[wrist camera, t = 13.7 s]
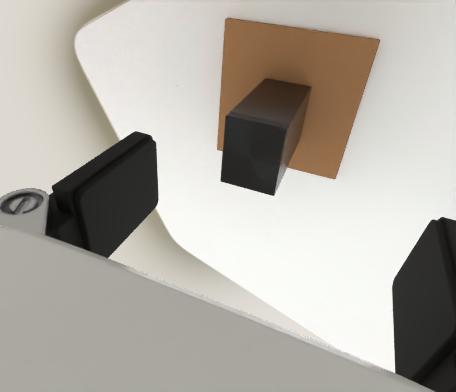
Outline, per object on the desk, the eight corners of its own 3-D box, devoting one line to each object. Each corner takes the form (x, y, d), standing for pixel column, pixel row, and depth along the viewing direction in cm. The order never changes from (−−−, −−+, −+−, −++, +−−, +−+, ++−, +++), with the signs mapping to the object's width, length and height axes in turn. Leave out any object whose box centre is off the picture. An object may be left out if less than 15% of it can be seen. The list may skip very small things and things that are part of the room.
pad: (227, 17, 27) (225, 18, 26) (380, 39, 24) (380, 40, 23) (219, 147, 34) (216, 150, 33) (335, 176, 31) (335, 179, 30)
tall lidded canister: (265, 77, 28) (224, 115, 20) (311, 86, 27) (287, 129, 19) (257, 131, 31) (220, 181, 23) (299, 141, 30) (273, 196, 22)
